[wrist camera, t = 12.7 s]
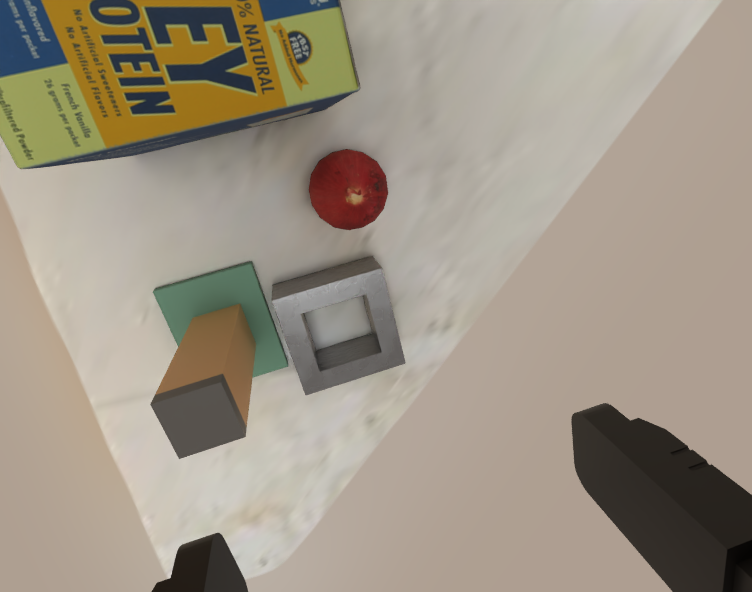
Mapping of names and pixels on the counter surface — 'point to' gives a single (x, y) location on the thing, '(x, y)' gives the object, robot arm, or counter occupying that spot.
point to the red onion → (348, 189)
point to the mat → (221, 293)
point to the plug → (208, 383)
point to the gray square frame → (348, 356)
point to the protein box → (161, 72)
